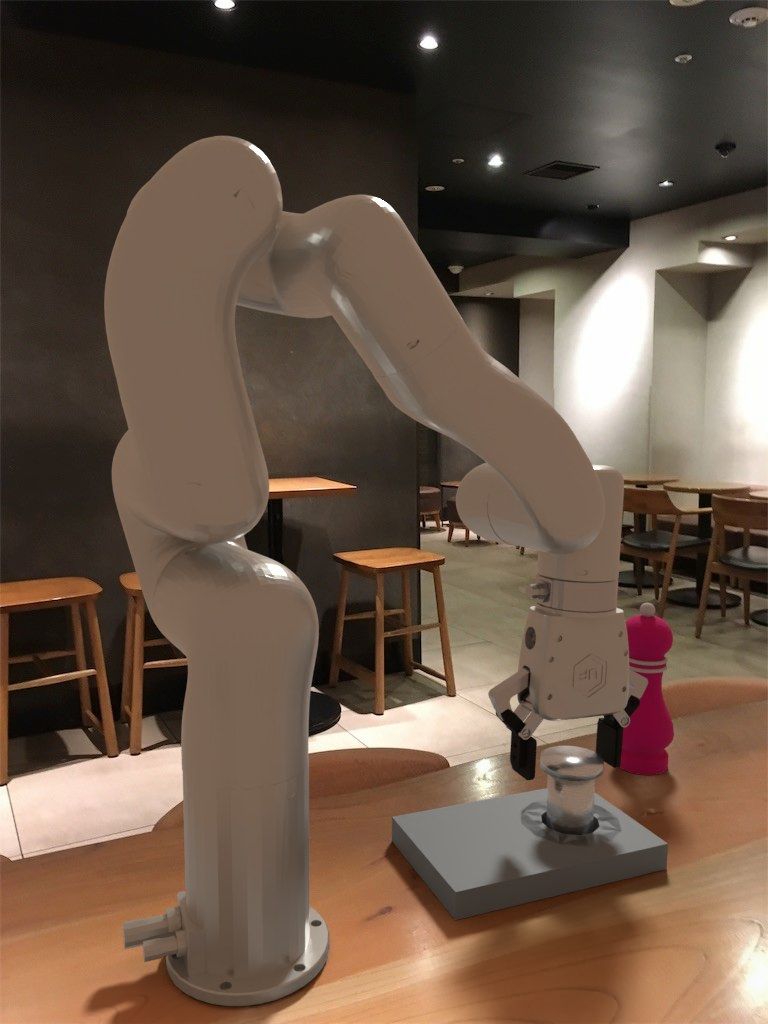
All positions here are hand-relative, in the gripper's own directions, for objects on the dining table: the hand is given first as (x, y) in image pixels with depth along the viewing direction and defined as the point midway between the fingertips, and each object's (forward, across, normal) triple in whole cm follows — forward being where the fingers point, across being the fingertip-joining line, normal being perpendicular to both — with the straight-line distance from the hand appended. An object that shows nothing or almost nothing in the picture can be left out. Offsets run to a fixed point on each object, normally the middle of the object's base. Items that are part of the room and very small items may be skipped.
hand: (566, 768), depth 81 cm
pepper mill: (+8, +20, +13) cm, 25 cm away
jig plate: (+8, -4, 0) cm, 9 cm away
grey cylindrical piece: (+8, +1, 0) cm, 8 cm away
